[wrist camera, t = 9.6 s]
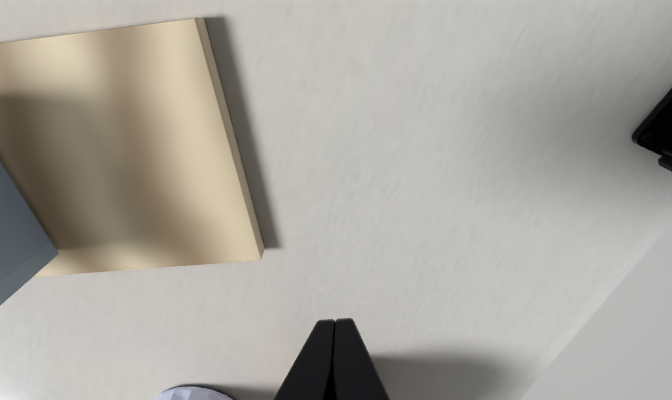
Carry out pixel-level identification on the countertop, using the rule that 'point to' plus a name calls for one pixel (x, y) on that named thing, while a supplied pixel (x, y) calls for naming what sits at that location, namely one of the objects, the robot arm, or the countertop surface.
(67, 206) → the flat panel
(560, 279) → the countertop surface
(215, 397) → the soap bottle
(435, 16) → the countertop surface
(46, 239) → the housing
